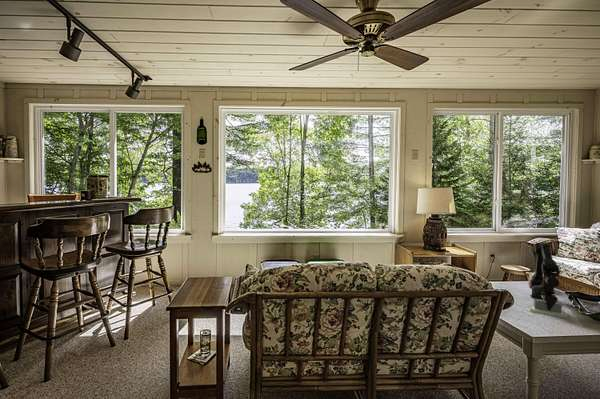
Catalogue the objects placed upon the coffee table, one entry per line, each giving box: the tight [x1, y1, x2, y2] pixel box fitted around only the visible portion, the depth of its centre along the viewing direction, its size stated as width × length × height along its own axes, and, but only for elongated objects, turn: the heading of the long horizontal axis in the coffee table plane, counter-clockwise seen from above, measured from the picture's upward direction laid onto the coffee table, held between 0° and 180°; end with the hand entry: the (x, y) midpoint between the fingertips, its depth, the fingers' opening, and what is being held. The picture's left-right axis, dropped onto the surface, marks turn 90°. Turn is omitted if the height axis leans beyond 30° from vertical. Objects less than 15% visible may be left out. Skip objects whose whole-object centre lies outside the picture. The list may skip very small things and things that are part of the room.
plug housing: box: [533, 298, 563, 313], centre depth 198 cm, size 5×13×5 cm, turn 62°
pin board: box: [527, 304, 568, 319], centre depth 198 cm, size 9×18×4 cm, turn 62°
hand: (547, 307), depth 198 cm, fingers open, 9 cm apart
